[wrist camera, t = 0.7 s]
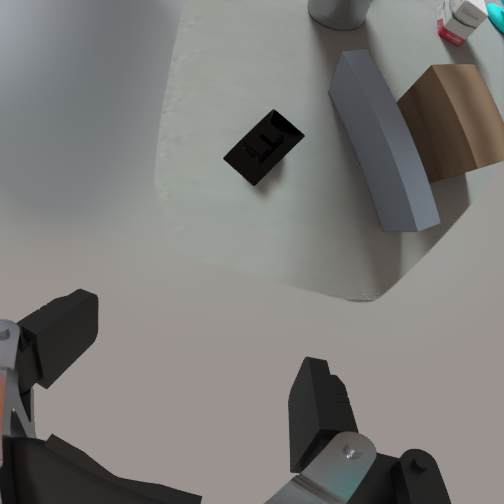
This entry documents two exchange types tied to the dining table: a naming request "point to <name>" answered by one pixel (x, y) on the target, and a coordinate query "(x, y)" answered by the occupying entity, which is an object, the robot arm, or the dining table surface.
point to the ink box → (460, 18)
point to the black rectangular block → (263, 147)
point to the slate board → (382, 145)
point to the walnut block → (453, 121)
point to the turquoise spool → (496, 15)
